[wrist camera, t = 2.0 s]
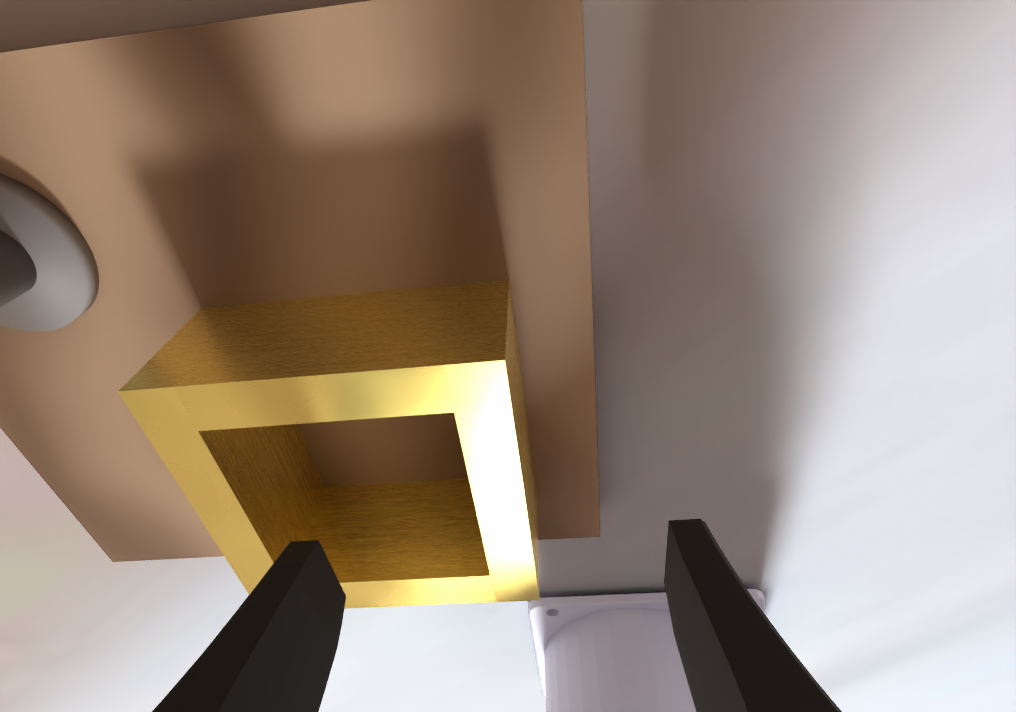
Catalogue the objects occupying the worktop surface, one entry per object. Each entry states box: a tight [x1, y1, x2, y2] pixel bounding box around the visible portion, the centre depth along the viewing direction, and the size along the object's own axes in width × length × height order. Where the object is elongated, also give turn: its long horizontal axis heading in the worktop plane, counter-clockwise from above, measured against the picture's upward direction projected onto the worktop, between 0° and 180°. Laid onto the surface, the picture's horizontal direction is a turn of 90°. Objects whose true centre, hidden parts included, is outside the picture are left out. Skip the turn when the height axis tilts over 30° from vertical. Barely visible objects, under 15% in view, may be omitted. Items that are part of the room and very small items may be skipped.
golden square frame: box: [118, 279, 540, 608], centre depth 15 cm, size 8×8×4 cm
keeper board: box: [0, 0, 600, 562], centre depth 14 cm, size 18×16×6 cm
